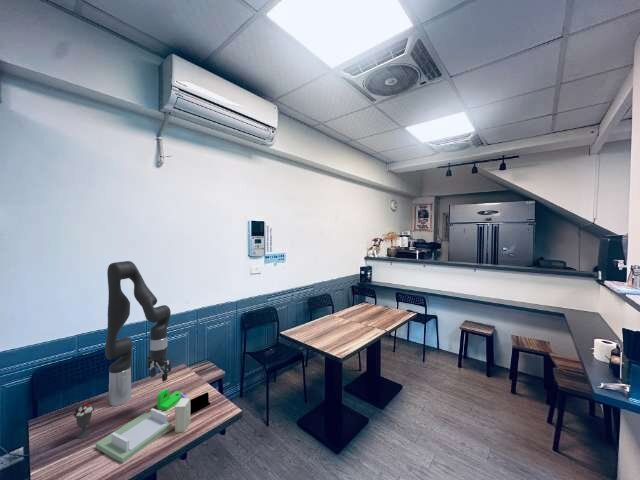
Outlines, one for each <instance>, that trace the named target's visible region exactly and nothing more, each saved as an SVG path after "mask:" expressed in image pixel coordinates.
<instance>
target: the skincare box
mask: <svg viewBox="0 0 640 480" xmlns="http://www.w3.org/2000/svg"><path fill="white" fill-rule="evenodd" d="M190 399H191V397H187V398H181V399H180V400H179V402H177V403H176V404H175V405H174V433H185V432H186V431H187V429H188V427H189V426H190V424H191V415H190Z"/></svg>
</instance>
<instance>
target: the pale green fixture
mask: <svg viewBox="0 0 640 480" xmlns="http://www.w3.org/2000/svg"><path fill="white" fill-rule="evenodd" d="M171 428H172V422H169V421H168V413H165V412H162V411H161V410H159V409H156V408H153V407H152V408H151V409H150V413H148V412H143V413H142V414H140V415H139V416H137V417H136V418H134V419H132V420H131V421H129V422H128V423H126V424H124V425H122V426H121V427H120V428H118V429H116V430H114V431H113V432H111V433H110V434H108V435H107V436H105V437H103V438H102V439H100V440H99V441H97V442H95V449H97V450H99V451H100V452H102V453H104V454H105V455H107V456H108V457H111V458H112V459H114V460H116V461H118V462H120V463H121V464H124V463H125V462H126V461H128V460H129V459H131V458H132V457H133V456H135V455H136V454H137V453H139V452H140V451H142V450H143V449H144V448H146V447H147V446H148V445H151V444H152V442H153V441H155V440H156V439H158V438H160V437H161V436H162V435H163V434H165V433H166V432H167V431H169V430H170V429H171Z"/></svg>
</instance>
